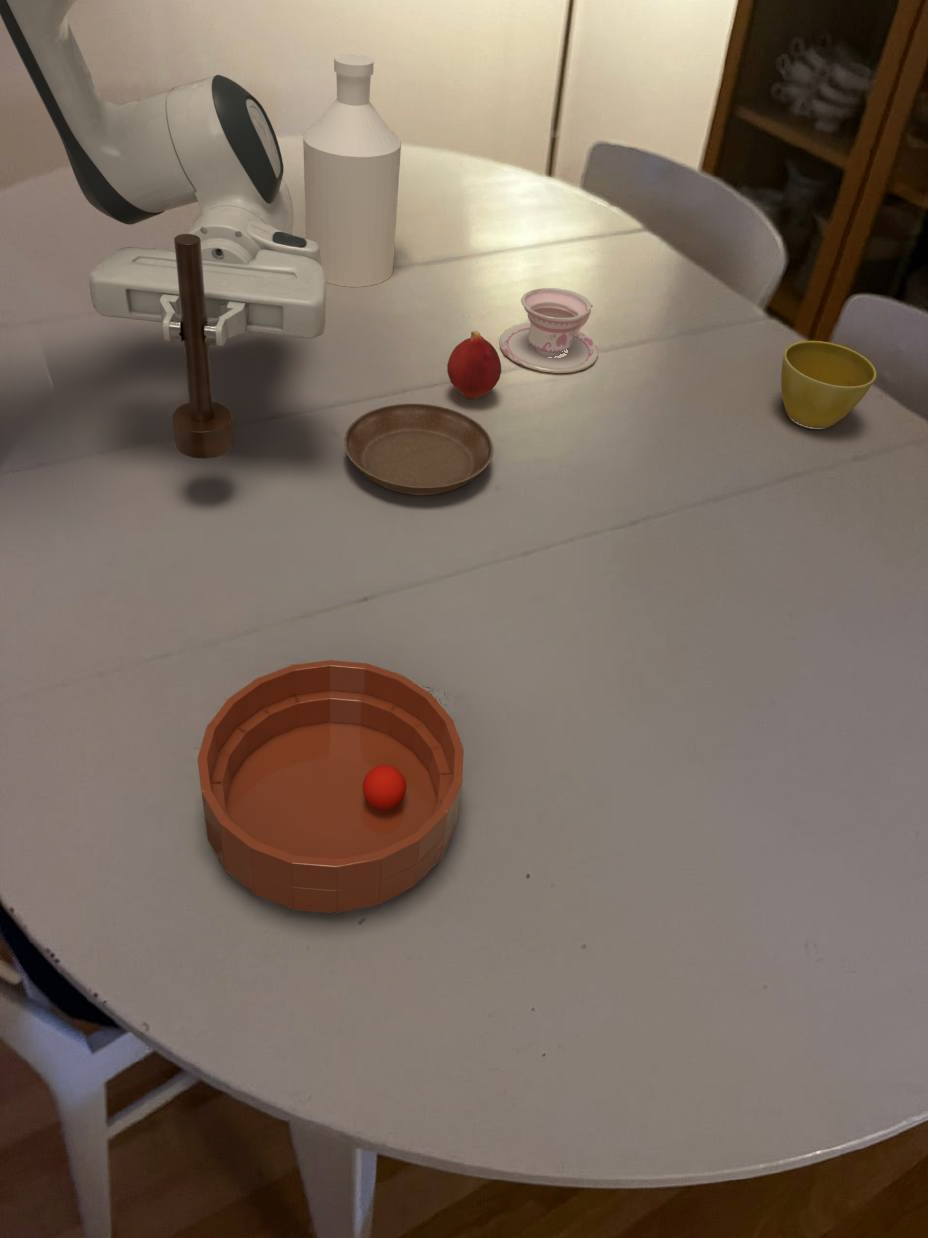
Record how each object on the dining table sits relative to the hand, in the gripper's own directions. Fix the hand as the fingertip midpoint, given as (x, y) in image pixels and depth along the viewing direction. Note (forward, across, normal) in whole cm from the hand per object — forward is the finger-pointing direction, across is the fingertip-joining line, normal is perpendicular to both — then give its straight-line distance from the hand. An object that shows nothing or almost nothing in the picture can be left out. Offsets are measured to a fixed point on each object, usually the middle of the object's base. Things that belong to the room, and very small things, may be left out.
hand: (192, 335), depth 84 cm
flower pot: (-26, +63, +16) cm, 70 cm away
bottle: (-53, +7, +17) cm, 56 cm away
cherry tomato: (+34, +20, +14) cm, 41 cm away
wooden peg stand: (-1, 0, +11) cm, 11 cm away
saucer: (-9, +19, +17) cm, 27 cm away
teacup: (-36, +33, +17) cm, 52 cm away
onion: (-23, +24, +17) cm, 37 cm away
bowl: (+34, +16, +17) cm, 41 cm away
